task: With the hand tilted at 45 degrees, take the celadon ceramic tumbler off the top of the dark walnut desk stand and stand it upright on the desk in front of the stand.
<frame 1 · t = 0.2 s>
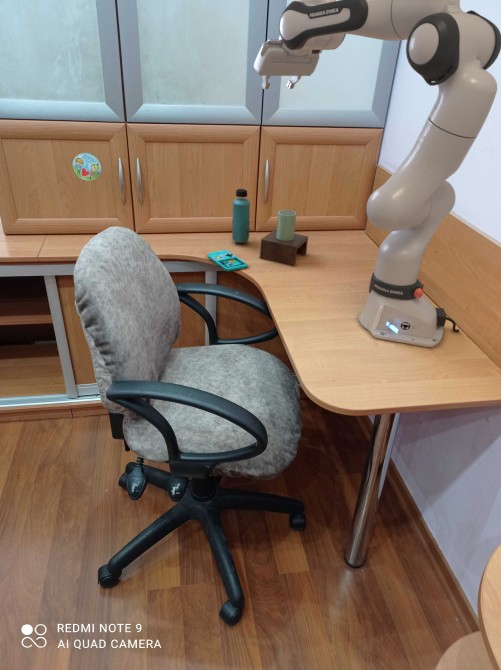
hand: (277, 87, 142), 54 cm above the table, tool tilted 30°, fingers open, 8 cm apart
handheld gaming console: (226, 261, 164), on the table
beverage bottle: (240, 243, 179), on the table
tumbler: (285, 237, 167), point 7 cm above the table, touching stand
stand: (283, 256, 170), on the table
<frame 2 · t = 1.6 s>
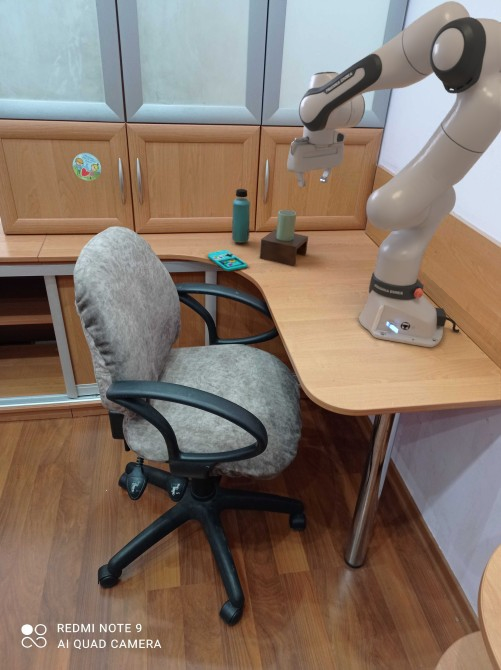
hand: (312, 184, 144), 29 cm above the table, tool pointing down, fingers open, 8 cm apart
nothing on the table moved.
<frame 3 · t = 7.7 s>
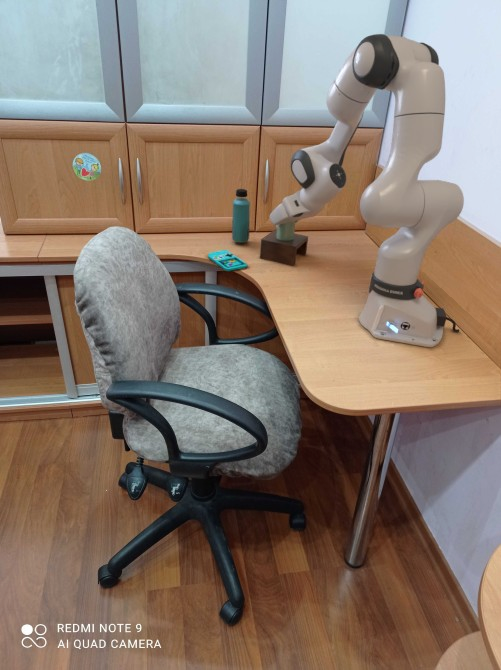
hand: (284, 223, 164), 12 cm above the table, tool tilted 45°, fingers closed on tumbler, 6 cm apart
tumbler: (285, 237, 167), point 7 cm above the table, touching gripper, stand
everything else where it was.
when the fingers open (5 cm above the table, at t = 18.9 s): tumbler stays where it is, on the table.
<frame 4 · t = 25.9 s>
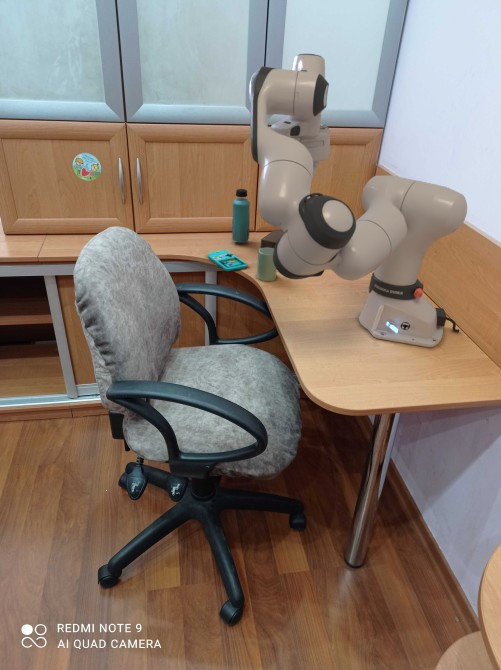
hand: (297, 180, 131), 33 cm above the table, tool pointing down, fingers open, 8 cm apart
tumbler: (266, 277, 155), on the table
everything else where it was.
at the end: tumbler inside the target area (0.1 cm from its centre), on the table; tumbler tilted 0°; the gripper is holding nothing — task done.
